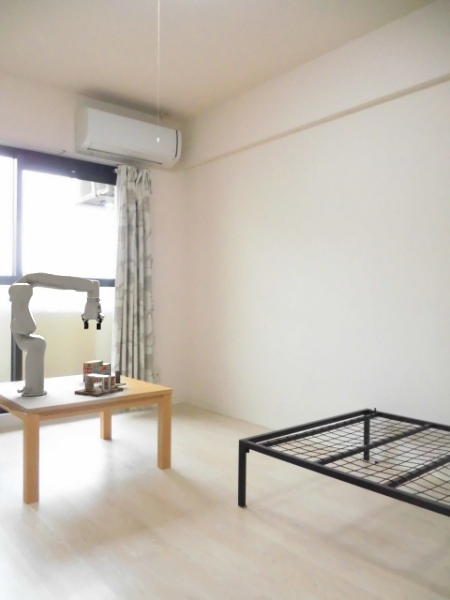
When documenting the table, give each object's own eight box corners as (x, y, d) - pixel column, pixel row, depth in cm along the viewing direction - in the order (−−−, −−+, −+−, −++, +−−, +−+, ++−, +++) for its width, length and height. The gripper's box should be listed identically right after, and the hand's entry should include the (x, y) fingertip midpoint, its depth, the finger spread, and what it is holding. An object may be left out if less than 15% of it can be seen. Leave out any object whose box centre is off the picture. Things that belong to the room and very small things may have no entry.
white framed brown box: (111, 388, 264) (111, 374, 264) (98, 386, 268) (98, 372, 268) (126, 384, 275) (126, 371, 275) (113, 383, 279) (114, 369, 279)
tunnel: (102, 391, 255) (103, 377, 255) (84, 389, 261) (84, 375, 261) (110, 390, 260) (110, 375, 260) (92, 387, 266) (92, 373, 266)
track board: (97, 397, 249) (97, 394, 249) (74, 393, 256) (74, 391, 256) (123, 390, 268) (123, 387, 268) (101, 387, 275) (101, 385, 275)
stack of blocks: (103, 377, 312) (103, 358, 312) (111, 377, 310) (111, 358, 310) (83, 382, 292) (83, 362, 292) (91, 383, 290) (91, 362, 290)
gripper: (108, 300, 281) (107, 329, 281) (86, 300, 289) (86, 328, 289) (99, 300, 275) (99, 330, 275) (77, 300, 282) (76, 329, 282)
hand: (92, 329), depth 282 cm, fingers open, 9 cm apart
